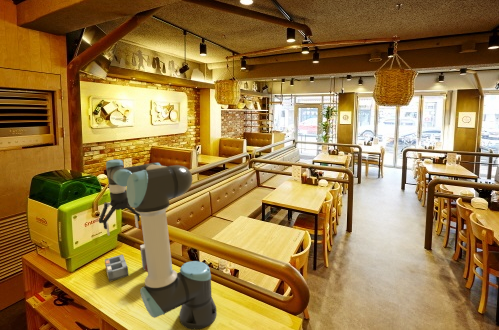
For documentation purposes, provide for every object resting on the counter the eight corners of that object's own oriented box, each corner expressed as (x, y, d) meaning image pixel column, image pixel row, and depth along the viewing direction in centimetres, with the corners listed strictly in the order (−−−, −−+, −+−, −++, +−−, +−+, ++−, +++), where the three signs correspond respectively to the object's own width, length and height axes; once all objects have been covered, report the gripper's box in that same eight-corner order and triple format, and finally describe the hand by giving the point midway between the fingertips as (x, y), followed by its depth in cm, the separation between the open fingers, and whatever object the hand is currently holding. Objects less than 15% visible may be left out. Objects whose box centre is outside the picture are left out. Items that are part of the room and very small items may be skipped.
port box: (128, 275, 146) (127, 266, 144) (108, 281, 141) (107, 272, 140) (123, 262, 157) (122, 253, 156) (105, 267, 152) (104, 259, 151)
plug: (151, 268, 152) (148, 246, 149) (144, 270, 150) (141, 248, 147) (149, 264, 155) (147, 243, 152) (142, 267, 153) (140, 245, 150)
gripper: (142, 184, 149) (146, 221, 154) (88, 194, 136) (94, 234, 141) (146, 188, 143) (150, 227, 148) (90, 198, 130) (96, 240, 135)
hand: (123, 230), depth 145 cm, fingers open, 13 cm apart
